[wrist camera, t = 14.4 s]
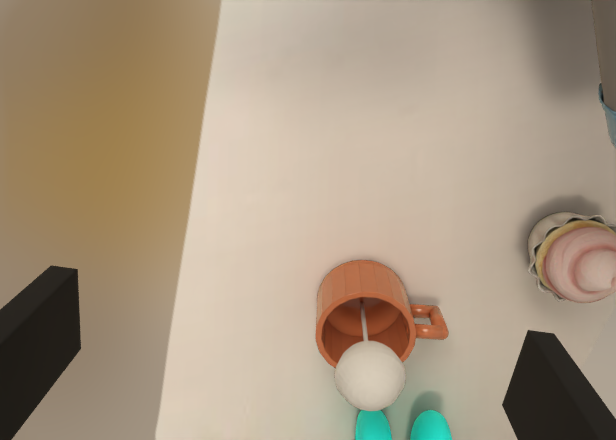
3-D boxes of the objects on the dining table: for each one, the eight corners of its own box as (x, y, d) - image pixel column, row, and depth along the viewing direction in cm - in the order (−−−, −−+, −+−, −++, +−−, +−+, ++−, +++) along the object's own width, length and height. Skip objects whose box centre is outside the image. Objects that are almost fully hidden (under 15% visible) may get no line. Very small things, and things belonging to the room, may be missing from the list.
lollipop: (335, 328, 57) (337, 428, 43) (331, 281, 54) (332, 370, 41) (390, 325, 56) (411, 425, 42) (389, 278, 54) (410, 367, 40)
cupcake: (549, 295, 55) (594, 350, 46) (493, 240, 53) (529, 287, 44) (623, 238, 52) (687, 285, 43) (567, 178, 50) (622, 214, 41)
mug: (315, 334, 58) (313, 373, 51) (319, 257, 54) (318, 289, 48) (431, 341, 58) (444, 381, 51) (443, 264, 54) (459, 297, 48)
